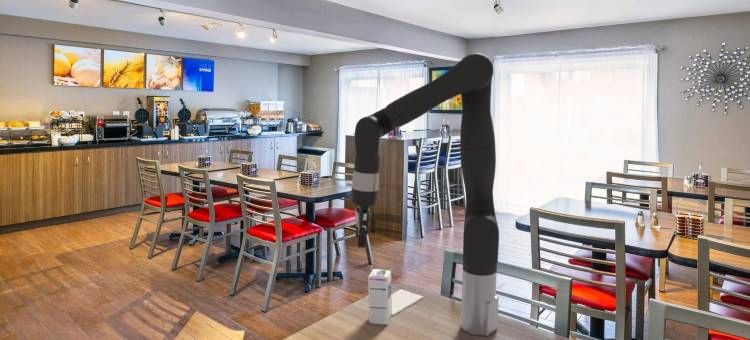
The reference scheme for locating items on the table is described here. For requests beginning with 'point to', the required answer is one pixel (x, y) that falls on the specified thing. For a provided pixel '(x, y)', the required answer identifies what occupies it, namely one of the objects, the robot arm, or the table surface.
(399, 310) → the mat
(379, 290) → the syrup box
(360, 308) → the table surface
